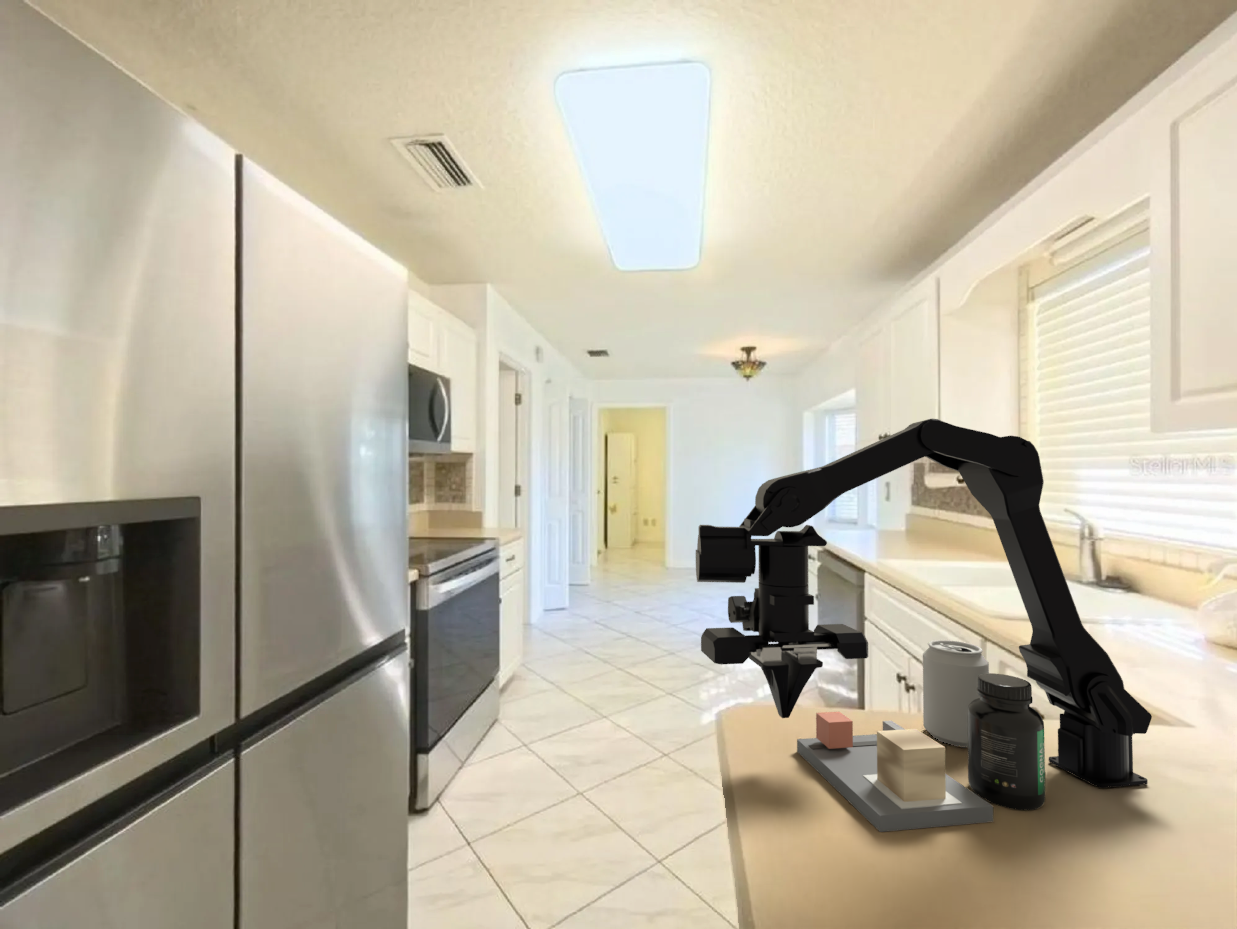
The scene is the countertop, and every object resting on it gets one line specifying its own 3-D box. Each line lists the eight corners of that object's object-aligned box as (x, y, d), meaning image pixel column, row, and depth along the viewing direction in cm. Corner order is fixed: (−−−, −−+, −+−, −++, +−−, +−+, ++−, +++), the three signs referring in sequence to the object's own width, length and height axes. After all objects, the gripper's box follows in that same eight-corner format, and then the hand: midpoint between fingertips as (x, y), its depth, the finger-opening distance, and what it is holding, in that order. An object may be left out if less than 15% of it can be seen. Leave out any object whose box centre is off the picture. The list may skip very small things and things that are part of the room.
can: (1000, 753, 72) (998, 654, 73) (933, 747, 74) (932, 650, 74) (976, 728, 80) (975, 639, 80) (916, 723, 81) (915, 635, 82)
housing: (877, 779, 62) (876, 730, 62) (916, 776, 63) (915, 728, 63) (904, 801, 58) (903, 749, 58) (945, 798, 58) (945, 747, 59)
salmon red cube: (839, 736, 72) (839, 711, 72) (852, 747, 69) (852, 721, 69) (816, 737, 72) (816, 712, 72) (828, 748, 69) (828, 722, 69)
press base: (886, 745, 74) (886, 717, 74) (993, 821, 57) (992, 784, 57) (797, 751, 72) (797, 722, 72) (880, 831, 55) (879, 793, 55)
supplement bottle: (1062, 810, 59) (1060, 689, 60) (1000, 814, 59) (999, 691, 59) (1009, 777, 66) (1008, 669, 67) (953, 780, 65) (952, 670, 66)
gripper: (822, 572, 79) (823, 689, 79) (688, 574, 76) (688, 696, 76) (870, 586, 68) (871, 722, 68) (716, 589, 65) (716, 732, 65)
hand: (783, 716), depth 69 cm, fingers closed
